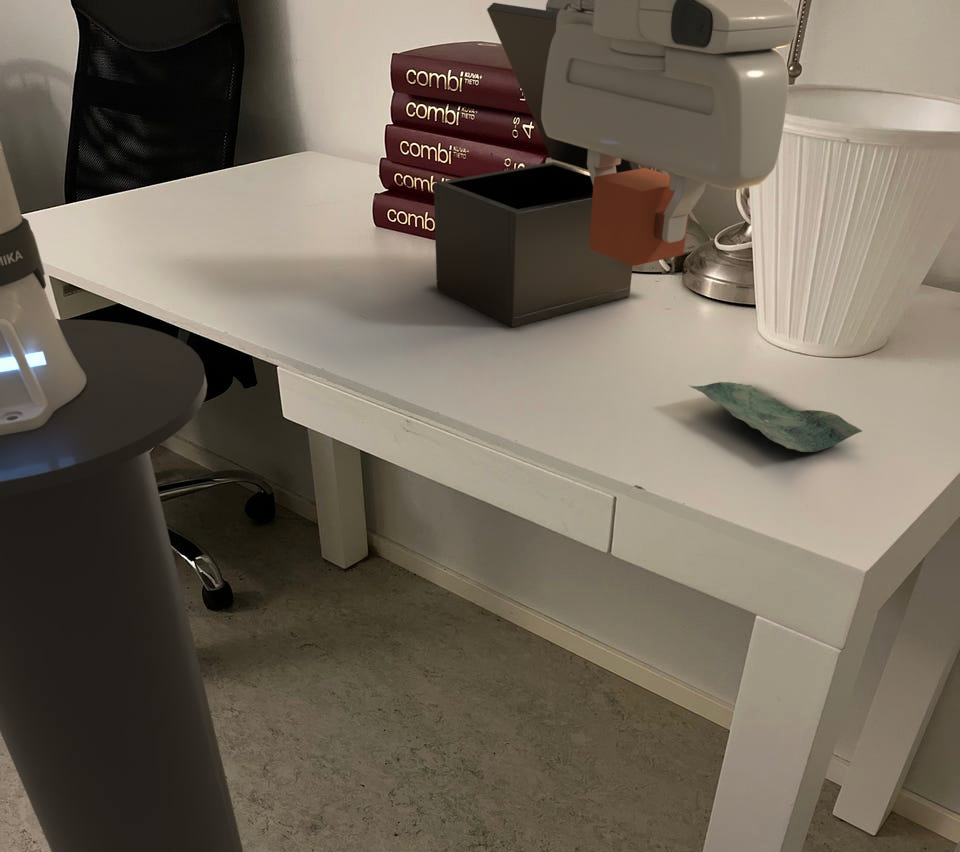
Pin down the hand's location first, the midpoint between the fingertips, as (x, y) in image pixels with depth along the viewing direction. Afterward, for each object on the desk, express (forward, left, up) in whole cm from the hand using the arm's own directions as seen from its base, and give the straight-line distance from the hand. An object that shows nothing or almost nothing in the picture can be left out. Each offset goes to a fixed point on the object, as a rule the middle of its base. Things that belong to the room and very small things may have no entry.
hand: (638, 228), depth 70 cm
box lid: (+17, +30, +3) cm, 35 cm away
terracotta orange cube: (0, 0, -2) cm, 2 cm away
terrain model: (+10, -7, -16) cm, 20 cm away
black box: (+14, +30, -16) cm, 37 cm away
